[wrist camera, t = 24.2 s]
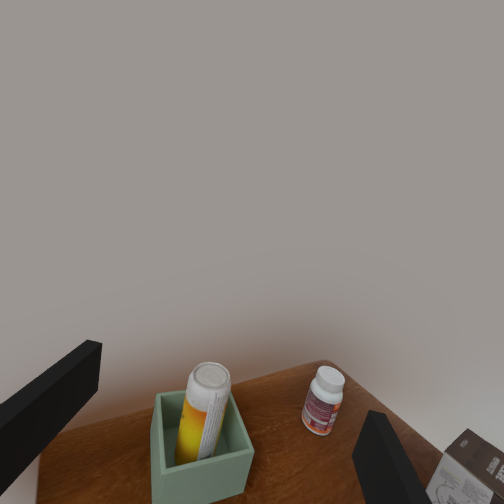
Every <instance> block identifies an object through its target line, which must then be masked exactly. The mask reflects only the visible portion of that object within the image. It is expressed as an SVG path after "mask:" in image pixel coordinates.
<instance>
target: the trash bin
mask: <svg viewBox="0 0 504 504" xmlns="http://www.w3.org/2000/svg"><path fill="white" fill-rule="evenodd" d="M185 395H186V390H181V391H174V392H166V393H157V394H156V399H155V405H154V411H153V417H152V423H151V430H150V444H151V485H152V504H210V503H213V502H216V501H219V500H222V499H225V498H228V497H231V496H234V495H238V494H241V493H243V491H244V488H245V484H246V480H247V477H248V473H249V470H250V466H251V462H252V459H253V455H254V452H255V451H254V449H253V446H252V444H251V441H250V439H249V436H248V433H247V431H246V428H245V426H244V423H243V421H242V418H241V416H240V413H239V411H238V408H237V406H236V403H235V400H234V398H233V395H232V393H231V390H230V393H229V397H228V401H227V405H226V409H225V414H224V418H223V422H222V426H221V430H220V435H219V439H218V443H217V447H216V451H215V456H214V457H212V458H208V459H204V460H200V461H196V462H192V463H187V464H183V465H179V466H177V465H176V462H175V459H174V452H175V446H176V441H177V436H178V431H179V426H180V420H181V415H182V410H183V405H184V400H185Z"/></svg>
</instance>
